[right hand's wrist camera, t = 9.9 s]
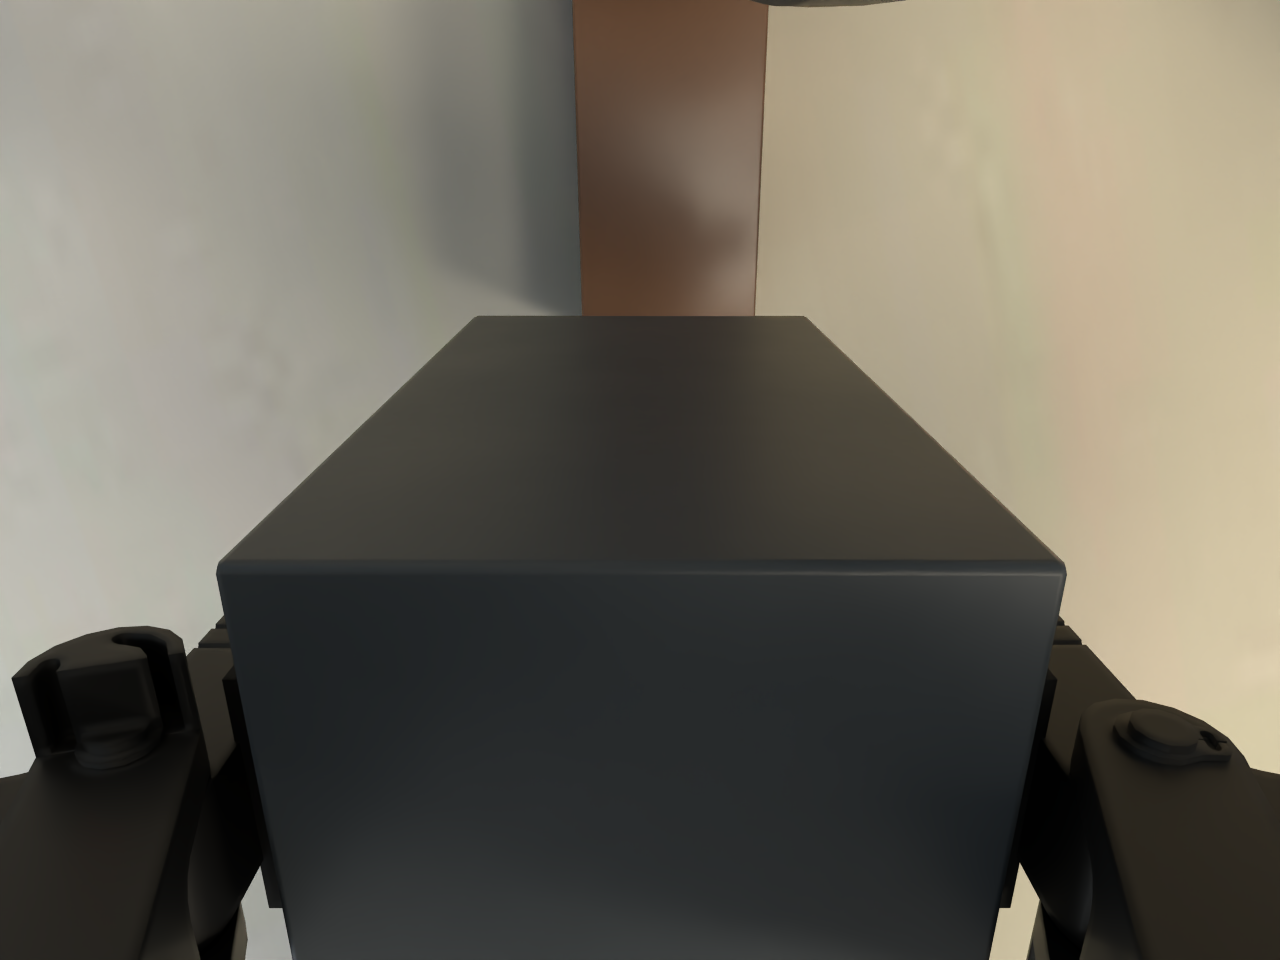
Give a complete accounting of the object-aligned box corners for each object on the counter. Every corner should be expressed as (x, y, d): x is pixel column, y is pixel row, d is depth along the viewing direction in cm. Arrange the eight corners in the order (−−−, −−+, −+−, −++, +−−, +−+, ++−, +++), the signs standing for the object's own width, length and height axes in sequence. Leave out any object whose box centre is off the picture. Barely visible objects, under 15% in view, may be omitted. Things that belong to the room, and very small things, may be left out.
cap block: (786, 608, 17) (958, 1134, 8) (493, 608, 17) (323, 1135, 8) (807, 315, 15) (1074, 563, 6) (473, 315, 15) (208, 563, 6)
